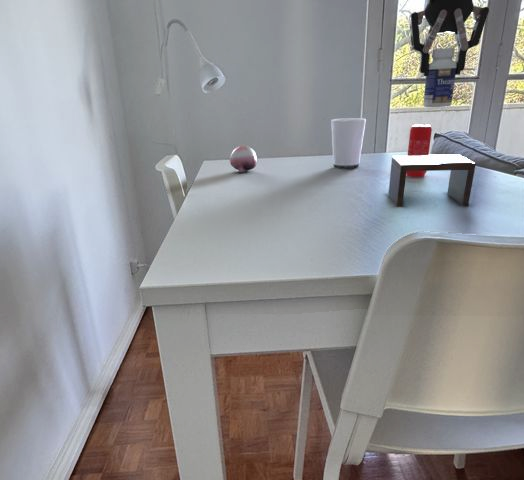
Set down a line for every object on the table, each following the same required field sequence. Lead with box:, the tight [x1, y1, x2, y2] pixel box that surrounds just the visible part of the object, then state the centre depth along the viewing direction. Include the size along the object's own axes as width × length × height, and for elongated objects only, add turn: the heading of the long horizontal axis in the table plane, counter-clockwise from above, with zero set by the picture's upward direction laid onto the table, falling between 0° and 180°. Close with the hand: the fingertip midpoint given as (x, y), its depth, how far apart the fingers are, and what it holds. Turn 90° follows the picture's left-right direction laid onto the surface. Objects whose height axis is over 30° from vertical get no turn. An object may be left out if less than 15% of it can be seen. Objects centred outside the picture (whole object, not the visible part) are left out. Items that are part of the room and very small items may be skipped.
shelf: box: [388, 154, 477, 208], centre depth 98 cm, size 14×12×8 cm
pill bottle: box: [422, 47, 457, 108], centre depth 91 cm, size 5×5×10 cm
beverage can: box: [406, 124, 433, 178], centre depth 120 cm, size 5×5×12 cm
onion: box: [229, 144, 258, 173], centre depth 137 cm, size 8×8×7 cm
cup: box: [330, 117, 367, 170], centre depth 137 cm, size 10×10×13 cm
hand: (441, 74), depth 91 cm, fingers closed on pill bottle, 5 cm apart
